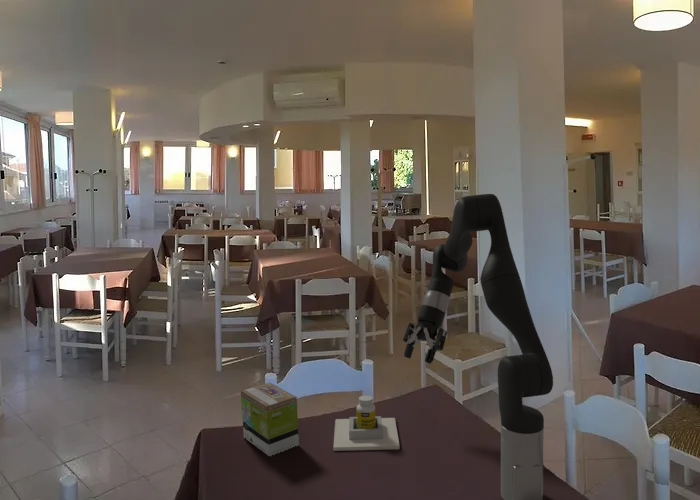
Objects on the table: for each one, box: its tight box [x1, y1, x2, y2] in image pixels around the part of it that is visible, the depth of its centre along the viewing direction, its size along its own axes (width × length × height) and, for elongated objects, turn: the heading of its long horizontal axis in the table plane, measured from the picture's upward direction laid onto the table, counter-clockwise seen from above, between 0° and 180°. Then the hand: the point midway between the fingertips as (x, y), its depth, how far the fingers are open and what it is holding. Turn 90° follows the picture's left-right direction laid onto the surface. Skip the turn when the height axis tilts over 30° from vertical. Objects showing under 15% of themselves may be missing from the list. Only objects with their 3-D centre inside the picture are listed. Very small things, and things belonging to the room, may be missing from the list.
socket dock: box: [333, 415, 401, 452], centre depth 161 cm, size 18×18×4 cm
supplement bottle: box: [356, 395, 376, 429], centre depth 161 cm, size 5×5×10 cm
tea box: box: [240, 382, 300, 457], centre depth 158 cm, size 15×10×15 cm, turn 39°
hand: (417, 360), depth 164 cm, fingers open, 8 cm apart
